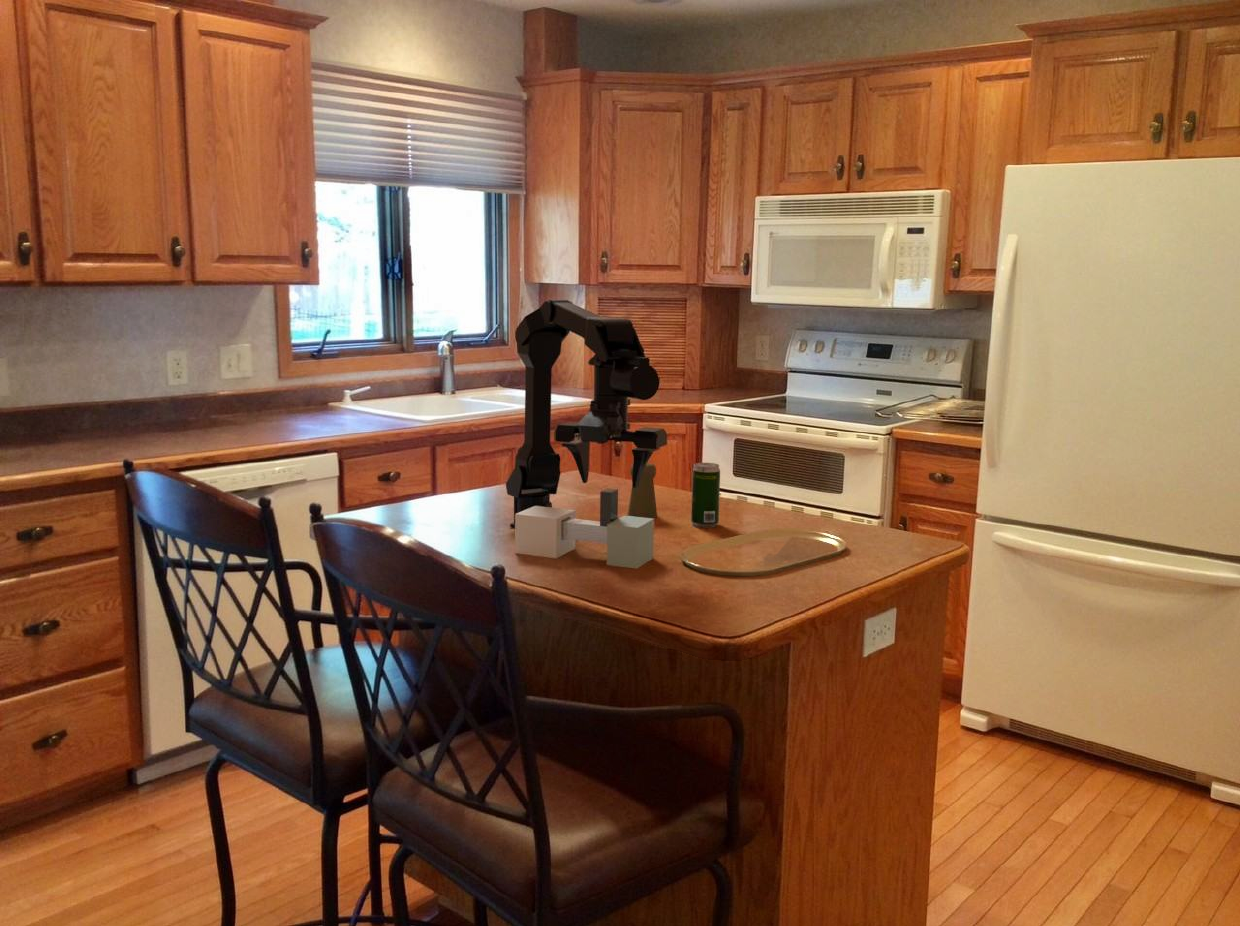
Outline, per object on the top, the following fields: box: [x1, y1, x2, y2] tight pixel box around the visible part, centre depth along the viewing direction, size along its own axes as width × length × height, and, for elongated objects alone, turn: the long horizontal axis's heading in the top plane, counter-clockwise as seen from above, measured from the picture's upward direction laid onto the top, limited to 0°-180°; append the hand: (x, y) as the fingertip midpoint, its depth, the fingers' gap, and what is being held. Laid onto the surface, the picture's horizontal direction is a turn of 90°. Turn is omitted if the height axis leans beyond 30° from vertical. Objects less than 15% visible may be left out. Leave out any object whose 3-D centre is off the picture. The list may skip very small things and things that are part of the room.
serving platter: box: [680, 528, 847, 577], centre depth 191 cm, size 19×35×2 cm, turn 133°
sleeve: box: [514, 506, 576, 559], centre depth 191 cm, size 8×8×7 cm
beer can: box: [690, 462, 721, 529], centre depth 212 cm, size 5×5×12 cm
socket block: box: [606, 515, 655, 569], centre depth 184 cm, size 6×8×7 cm
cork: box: [627, 461, 658, 519], centre depth 219 cm, size 6×6×11 cm
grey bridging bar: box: [561, 488, 619, 545], centre depth 186 cm, size 15×3×9 cm, turn 67°
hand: (609, 485), depth 184 cm, fingers open, 9 cm apart
